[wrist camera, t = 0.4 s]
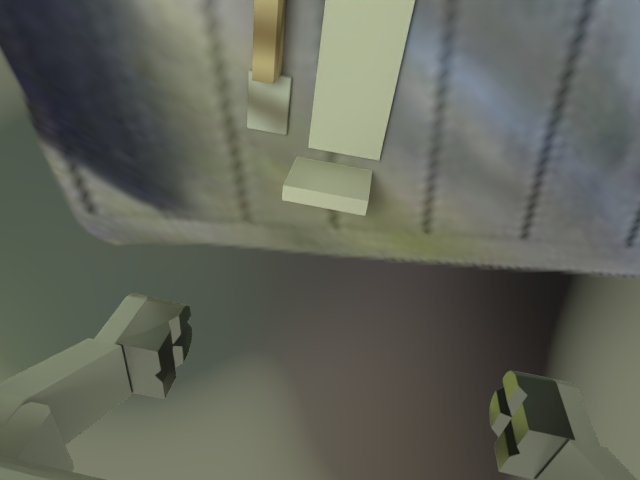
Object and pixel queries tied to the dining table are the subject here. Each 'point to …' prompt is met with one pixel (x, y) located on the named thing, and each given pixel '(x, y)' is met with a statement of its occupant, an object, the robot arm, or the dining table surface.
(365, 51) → the tool rest
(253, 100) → the wooden handled scraper
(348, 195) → the tile
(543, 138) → the dining table surface
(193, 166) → the dining table surface
